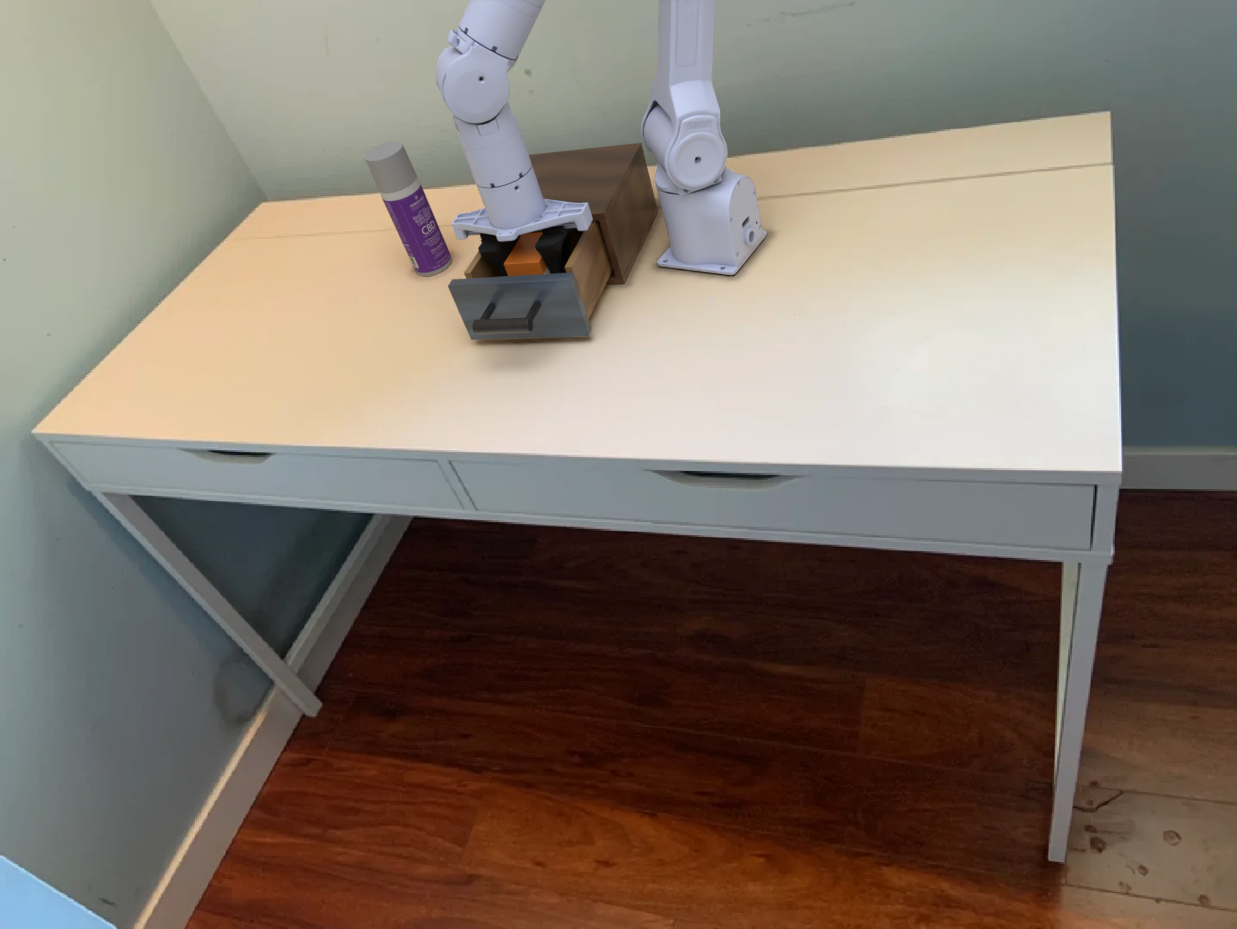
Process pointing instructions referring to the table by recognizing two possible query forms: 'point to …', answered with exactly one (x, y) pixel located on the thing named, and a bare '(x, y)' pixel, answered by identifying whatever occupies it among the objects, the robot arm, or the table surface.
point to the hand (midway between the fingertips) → (545, 290)
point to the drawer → (535, 294)
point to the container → (408, 208)
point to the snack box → (526, 257)
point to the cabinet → (604, 195)
